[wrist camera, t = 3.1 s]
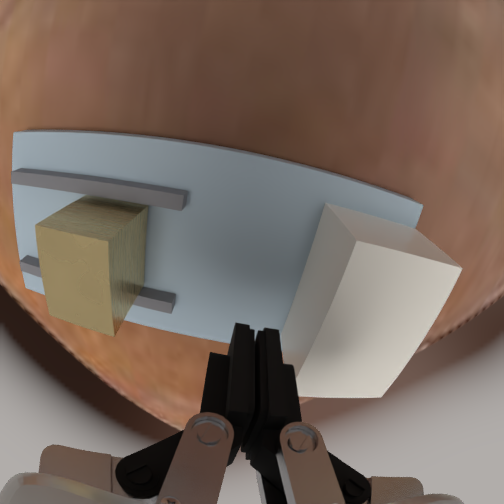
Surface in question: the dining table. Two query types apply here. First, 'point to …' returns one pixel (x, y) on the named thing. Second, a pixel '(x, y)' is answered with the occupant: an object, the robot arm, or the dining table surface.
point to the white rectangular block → (363, 304)
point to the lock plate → (194, 220)
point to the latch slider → (93, 261)
